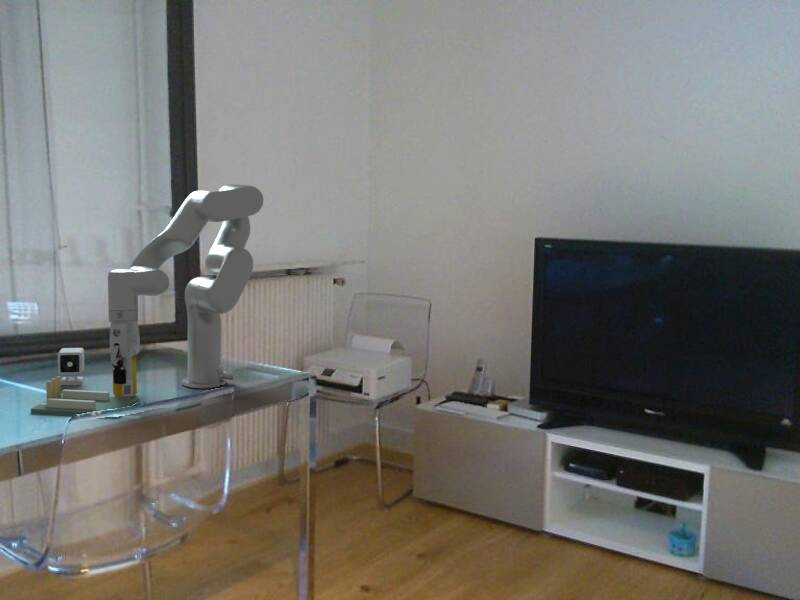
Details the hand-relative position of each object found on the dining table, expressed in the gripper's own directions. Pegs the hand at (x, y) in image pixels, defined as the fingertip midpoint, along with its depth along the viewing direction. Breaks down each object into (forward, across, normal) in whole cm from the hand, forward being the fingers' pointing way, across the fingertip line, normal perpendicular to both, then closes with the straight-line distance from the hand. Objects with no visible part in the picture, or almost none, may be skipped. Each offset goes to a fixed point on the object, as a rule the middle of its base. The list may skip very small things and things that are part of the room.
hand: (124, 379), depth 214 cm
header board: (+5, -12, +5) cm, 14 cm away
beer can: (+5, 0, 0) cm, 5 cm away
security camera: (+5, +10, +19) cm, 22 cm away
